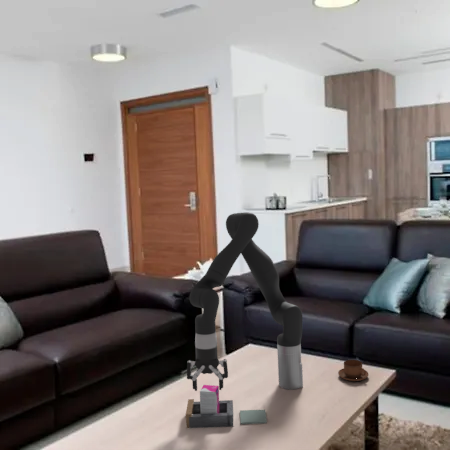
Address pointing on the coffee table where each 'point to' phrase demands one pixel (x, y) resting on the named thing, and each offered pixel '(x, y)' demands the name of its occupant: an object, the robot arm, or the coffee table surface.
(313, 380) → the coffee table surface
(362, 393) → the coffee table surface
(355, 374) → the cup and saucer
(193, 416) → the grey wooden frame
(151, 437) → the coffee table surface
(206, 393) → the supplement box
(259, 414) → the rubber pad
